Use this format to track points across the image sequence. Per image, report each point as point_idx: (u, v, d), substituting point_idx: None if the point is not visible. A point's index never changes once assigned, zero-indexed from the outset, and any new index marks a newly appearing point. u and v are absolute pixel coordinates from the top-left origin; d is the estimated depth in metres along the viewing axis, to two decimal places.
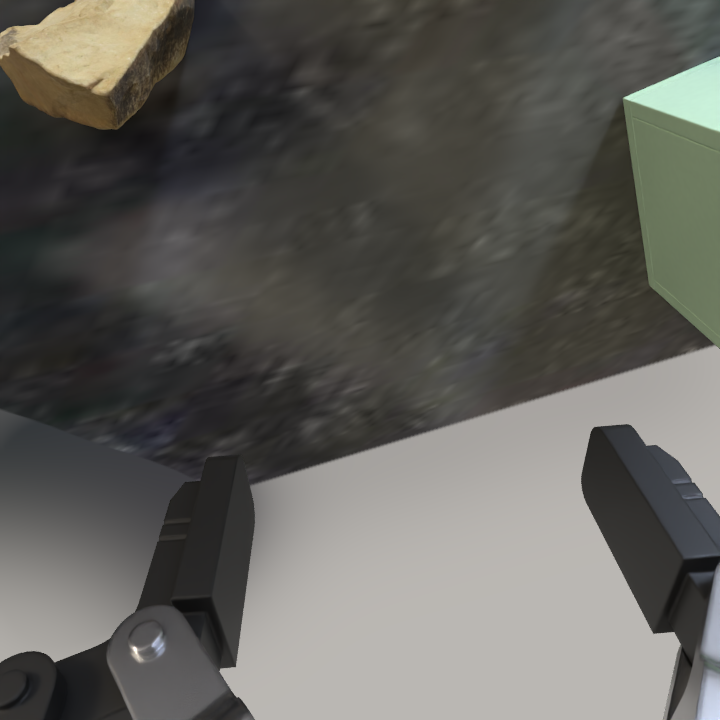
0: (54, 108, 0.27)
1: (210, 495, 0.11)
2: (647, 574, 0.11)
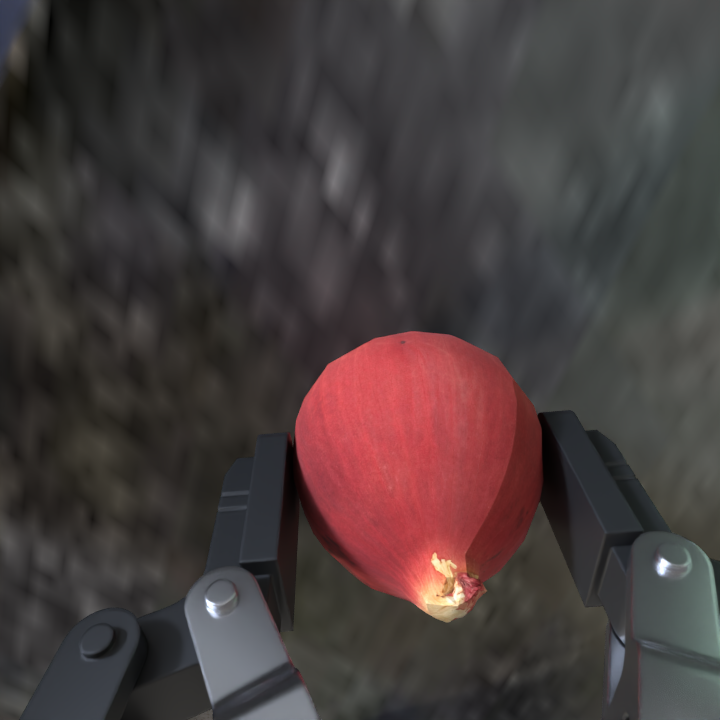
0: None
1: (265, 469, 0.12)
2: (580, 551, 0.11)
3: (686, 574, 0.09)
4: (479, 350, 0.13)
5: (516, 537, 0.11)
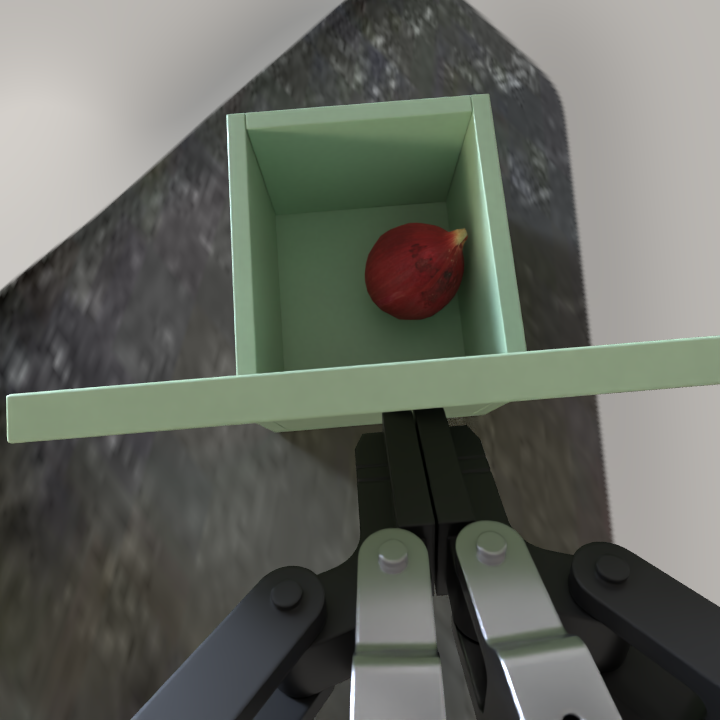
0: None
1: (399, 442, 0.12)
2: None
3: (499, 561, 0.09)
4: None
5: None
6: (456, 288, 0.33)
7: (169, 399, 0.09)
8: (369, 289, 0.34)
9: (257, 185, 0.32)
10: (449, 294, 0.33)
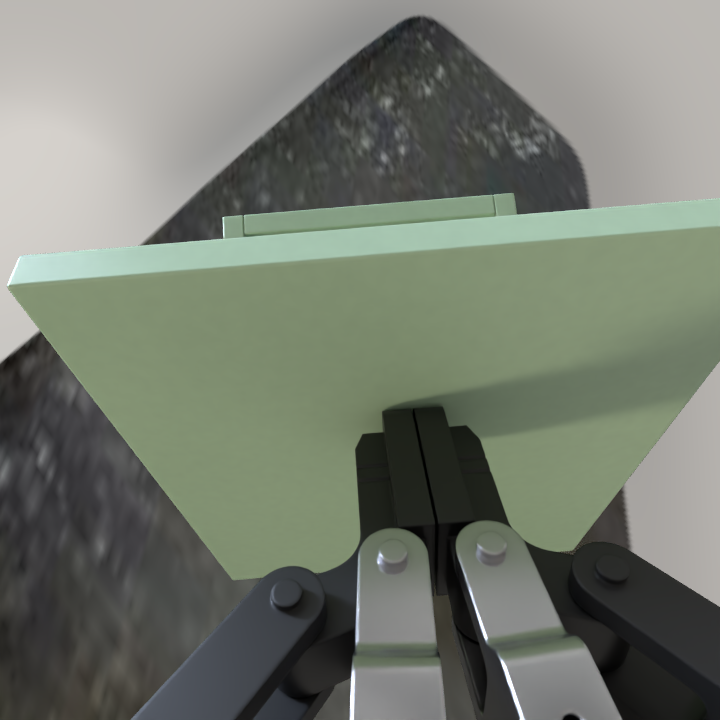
0: None
1: (399, 442, 0.12)
2: None
3: (499, 561, 0.09)
4: None
5: None
6: None
7: (168, 253, 0.10)
8: None
9: None
10: None
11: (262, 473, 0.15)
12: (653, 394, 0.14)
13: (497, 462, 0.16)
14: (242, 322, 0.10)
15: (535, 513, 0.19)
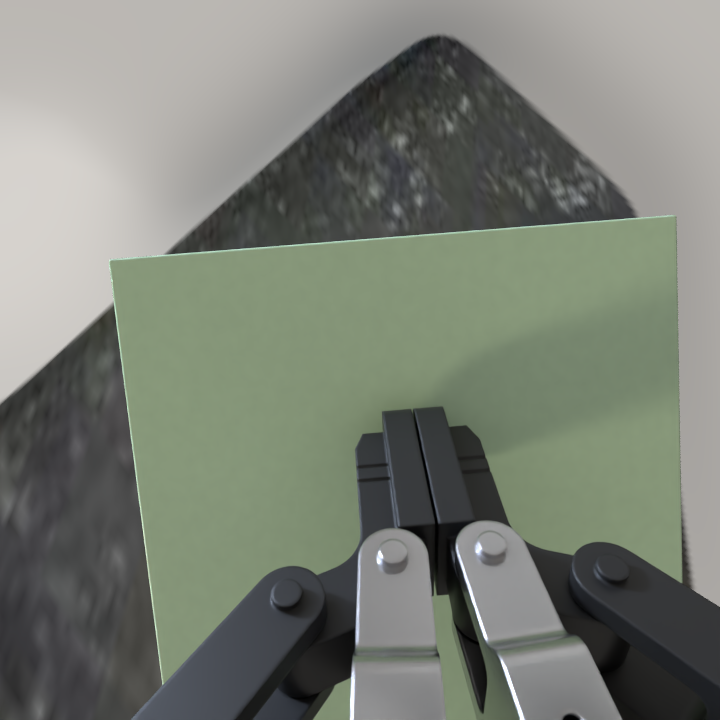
0: None
1: (399, 442, 0.12)
2: None
3: (499, 561, 0.09)
4: None
5: None
6: None
7: None
8: None
9: None
10: None
11: (258, 547, 0.14)
12: (638, 425, 0.14)
13: None
14: (264, 303, 0.14)
15: None
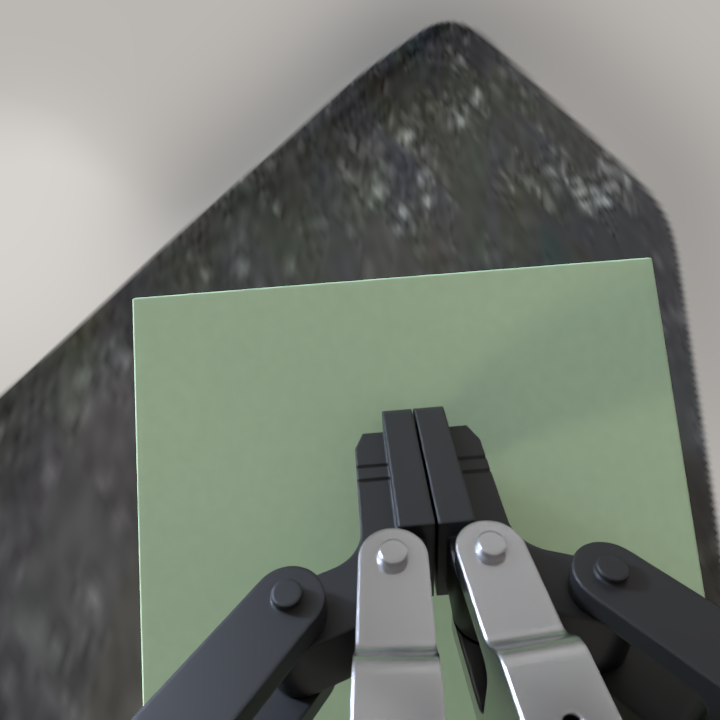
0: None
1: (399, 442, 0.12)
2: None
3: (499, 561, 0.09)
4: None
5: None
6: None
7: None
8: None
9: None
10: None
11: None
12: (640, 455, 0.14)
13: None
14: (273, 337, 0.15)
15: None
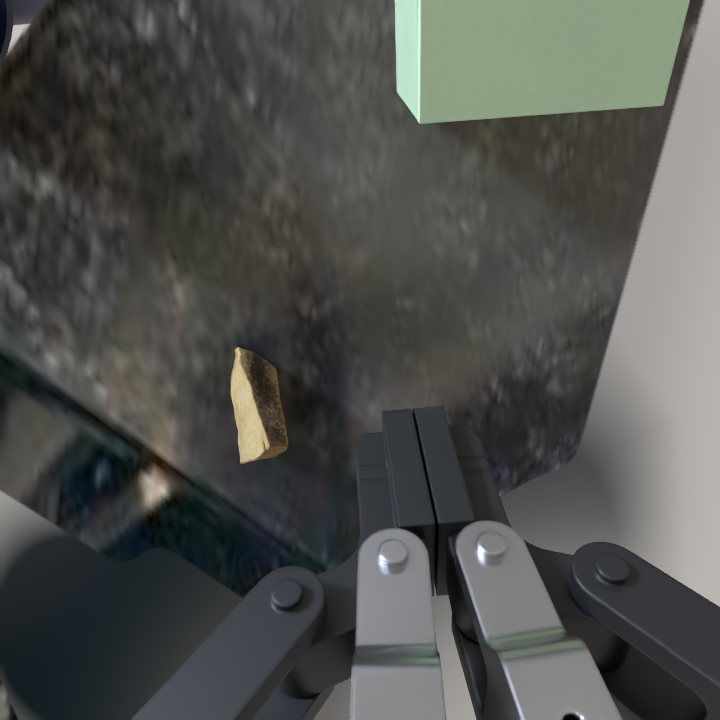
0: (272, 456, 0.51)
1: (399, 442, 0.12)
2: None
3: (499, 561, 0.09)
4: None
5: None
6: None
7: None
8: None
9: None
10: None
11: None
12: None
13: None
14: None
15: (639, 16, 0.29)
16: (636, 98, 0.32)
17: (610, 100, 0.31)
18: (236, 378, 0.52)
